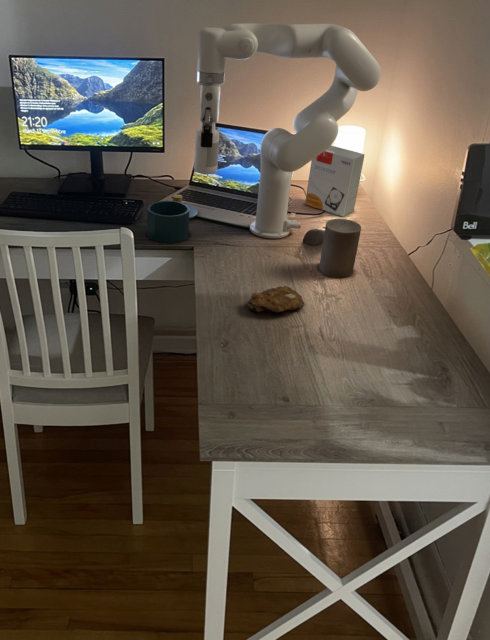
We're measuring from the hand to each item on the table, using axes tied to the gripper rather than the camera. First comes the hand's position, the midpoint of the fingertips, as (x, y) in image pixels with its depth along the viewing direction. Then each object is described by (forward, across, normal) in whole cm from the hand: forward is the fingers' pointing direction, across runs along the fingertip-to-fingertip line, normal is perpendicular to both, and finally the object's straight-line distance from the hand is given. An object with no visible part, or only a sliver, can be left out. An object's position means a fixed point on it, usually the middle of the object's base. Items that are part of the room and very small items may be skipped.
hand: (207, 142), depth 194 cm
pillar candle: (+29, -18, -39) cm, 52 cm away
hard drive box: (+29, +30, -42) cm, 59 cm away
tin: (+29, -1, +10) cm, 31 cm away
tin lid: (+28, +16, +9) cm, 34 cm away
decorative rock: (+29, -42, -21) cm, 55 cm away
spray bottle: (+8, 0, 0) cm, 8 cm away
